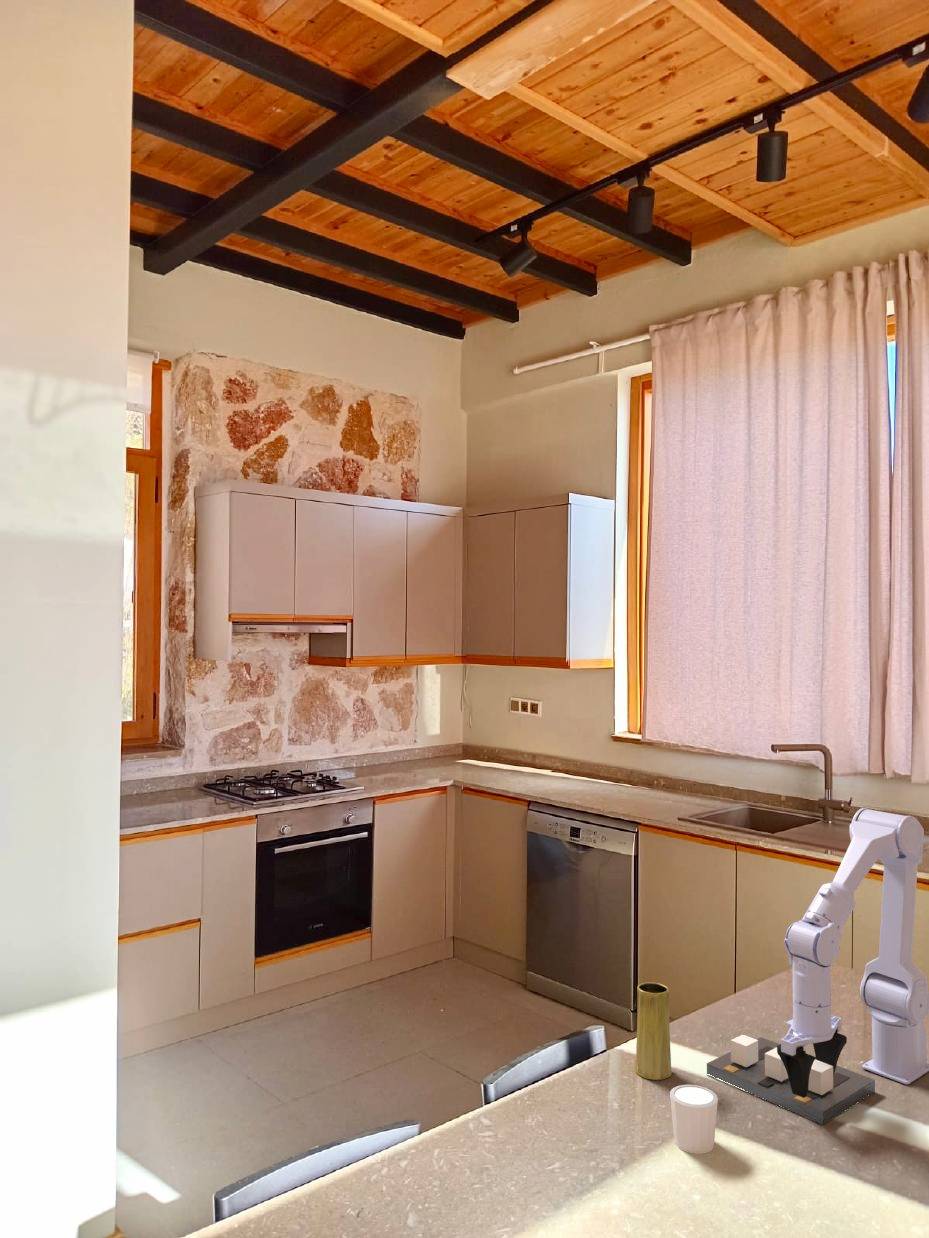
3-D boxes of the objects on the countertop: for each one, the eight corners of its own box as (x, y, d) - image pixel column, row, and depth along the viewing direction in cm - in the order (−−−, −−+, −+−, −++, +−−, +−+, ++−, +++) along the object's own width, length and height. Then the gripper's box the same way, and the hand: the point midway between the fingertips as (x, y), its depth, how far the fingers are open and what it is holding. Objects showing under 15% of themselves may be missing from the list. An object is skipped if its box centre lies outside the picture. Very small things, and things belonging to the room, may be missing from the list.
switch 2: (776, 1068, 156) (776, 1047, 156) (793, 1074, 154) (793, 1053, 154) (764, 1074, 154) (764, 1053, 154) (781, 1081, 152) (781, 1059, 152)
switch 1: (742, 1054, 161) (742, 1034, 162) (758, 1060, 159) (758, 1040, 159) (730, 1060, 159) (730, 1039, 159) (746, 1067, 157) (746, 1045, 157)
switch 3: (815, 1081, 152) (815, 1059, 152) (833, 1088, 150) (833, 1065, 150) (803, 1087, 150) (803, 1065, 150) (821, 1095, 147) (821, 1072, 147)
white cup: (719, 1135, 140) (719, 1087, 140) (716, 1159, 134) (716, 1109, 134) (672, 1127, 142) (672, 1080, 142) (667, 1150, 136) (666, 1102, 136)
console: (760, 1048, 169) (760, 1035, 169) (874, 1091, 153) (874, 1078, 153) (706, 1075, 159) (706, 1061, 159) (822, 1125, 143) (822, 1110, 143)
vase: (672, 1082, 157) (671, 995, 157) (634, 1078, 158) (634, 992, 158) (671, 1065, 163) (671, 982, 163) (635, 1062, 164) (635, 979, 164)
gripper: (813, 981, 156) (813, 1064, 156) (763, 1004, 147) (763, 1091, 147) (853, 994, 151) (854, 1079, 151) (804, 1018, 142) (805, 1109, 142)
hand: (812, 1087), depth 149 cm, fingers open, 7 cm apart
